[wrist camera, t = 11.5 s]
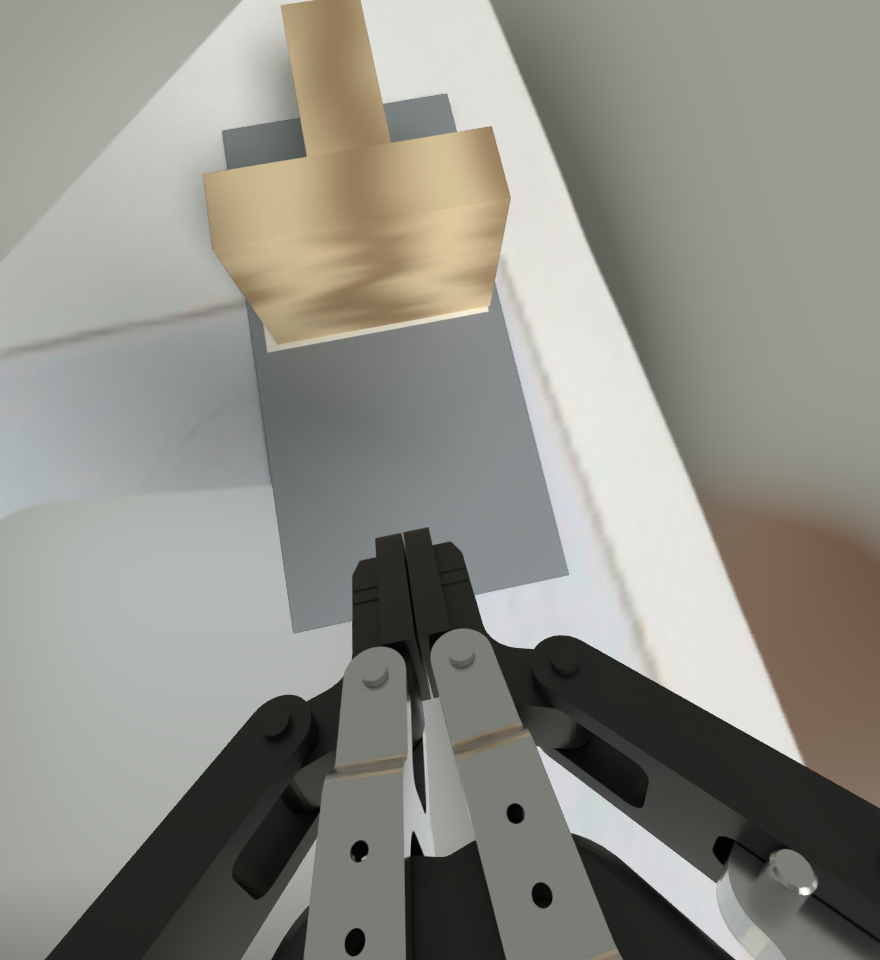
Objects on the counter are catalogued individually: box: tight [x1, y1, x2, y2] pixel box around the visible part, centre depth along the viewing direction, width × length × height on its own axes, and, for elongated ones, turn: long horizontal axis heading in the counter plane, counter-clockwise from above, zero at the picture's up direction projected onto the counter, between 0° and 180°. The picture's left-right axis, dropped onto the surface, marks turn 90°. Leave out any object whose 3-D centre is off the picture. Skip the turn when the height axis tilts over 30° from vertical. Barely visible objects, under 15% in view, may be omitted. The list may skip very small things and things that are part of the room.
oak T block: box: [203, 0, 511, 345], centre depth 24 cm, size 12×12×8 cm
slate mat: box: [222, 94, 569, 633], centre depth 27 cm, size 14×30×1 cm, turn 12°
